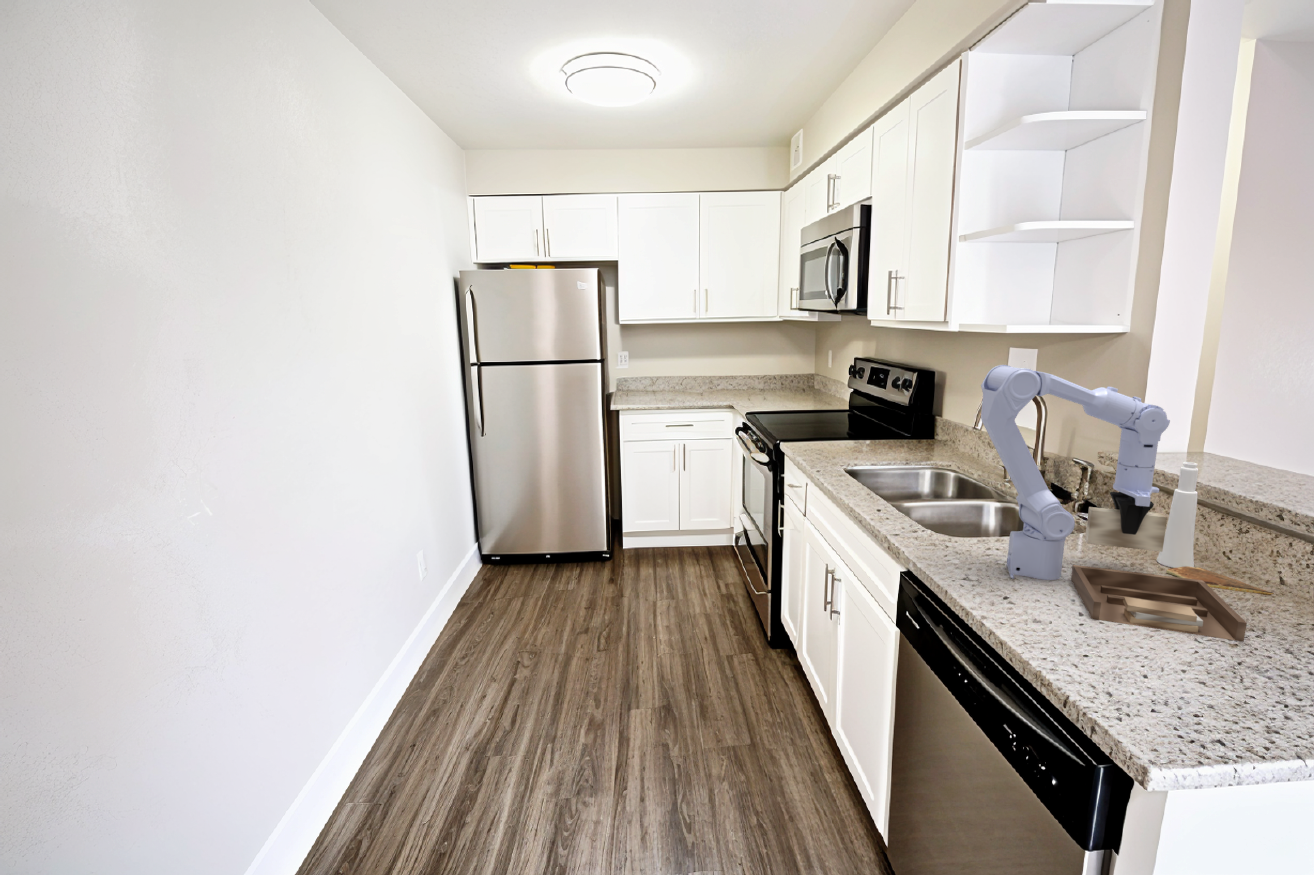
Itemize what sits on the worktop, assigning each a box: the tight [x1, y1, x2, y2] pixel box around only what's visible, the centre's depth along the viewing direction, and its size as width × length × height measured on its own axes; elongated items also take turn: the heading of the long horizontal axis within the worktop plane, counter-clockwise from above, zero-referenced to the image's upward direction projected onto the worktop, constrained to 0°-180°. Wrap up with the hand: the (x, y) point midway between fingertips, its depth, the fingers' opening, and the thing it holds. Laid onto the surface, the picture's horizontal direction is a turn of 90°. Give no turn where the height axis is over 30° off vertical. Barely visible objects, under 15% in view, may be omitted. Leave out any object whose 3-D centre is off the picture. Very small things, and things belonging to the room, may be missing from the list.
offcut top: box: [1123, 597, 1197, 622], centre depth 101 cm, size 9×4×1 cm, turn 61°
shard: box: [1165, 566, 1274, 596], centre depth 115 cm, size 13×9×2 cm
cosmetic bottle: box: [1156, 461, 1199, 569], centre depth 125 cm, size 6×6×22 cm
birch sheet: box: [1084, 506, 1168, 552], centre depth 119 cm, size 12×2×7 cm, turn 65°
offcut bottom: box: [1124, 608, 1199, 633], centre depth 101 cm, size 9×4×1 cm, turn 66°
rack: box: [1070, 564, 1248, 642], centre depth 107 cm, size 20×17×4 cm
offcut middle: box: [1130, 611, 1203, 627], centre depth 101 cm, size 9×4×1 cm, turn 70°
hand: (1126, 531), depth 119 cm, fingers closed on birch sheet, 2 cm apart
